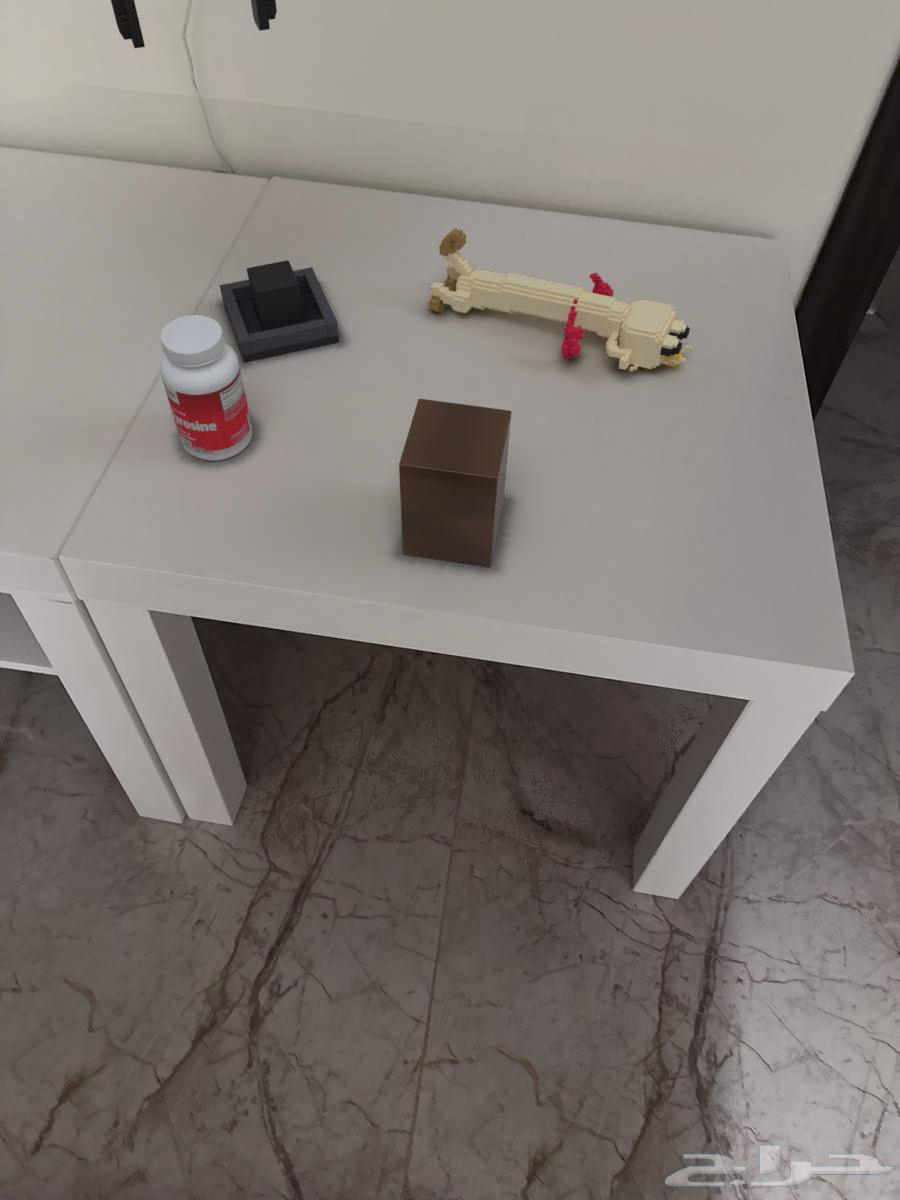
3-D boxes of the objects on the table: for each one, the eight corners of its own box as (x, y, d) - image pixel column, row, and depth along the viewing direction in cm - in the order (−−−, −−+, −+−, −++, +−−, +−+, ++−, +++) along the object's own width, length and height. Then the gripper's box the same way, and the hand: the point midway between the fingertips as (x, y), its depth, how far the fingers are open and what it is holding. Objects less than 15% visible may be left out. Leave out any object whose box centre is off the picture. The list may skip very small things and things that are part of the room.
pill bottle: (166, 445, 79) (132, 340, 70) (212, 404, 83) (186, 298, 74) (223, 473, 78) (195, 369, 69) (268, 430, 81) (247, 325, 72)
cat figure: (421, 337, 90) (671, 396, 83) (413, 256, 84) (684, 312, 76) (464, 282, 96) (702, 333, 88) (459, 201, 89) (717, 249, 81)
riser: (402, 554, 73) (398, 464, 65) (420, 490, 77) (418, 397, 69) (490, 567, 72) (497, 478, 64) (503, 502, 76) (511, 410, 68)
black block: (263, 333, 87) (256, 292, 84) (253, 309, 89) (246, 268, 86) (304, 324, 88) (299, 284, 85) (294, 300, 90) (288, 259, 87)
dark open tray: (243, 362, 86) (239, 342, 84) (223, 304, 91) (219, 284, 89) (339, 342, 88) (337, 322, 86) (314, 287, 93) (312, 266, 91)
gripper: (253, -311, 54) (288, -1, 67) (-1, -296, 51) (87, 25, 64) (284, -280, 50) (315, 43, 63) (9, -263, 47) (101, 74, 60)
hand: (200, 34), depth 63 cm, fingers open, 8 cm apart
